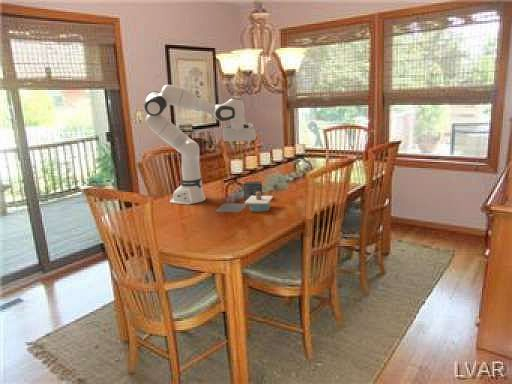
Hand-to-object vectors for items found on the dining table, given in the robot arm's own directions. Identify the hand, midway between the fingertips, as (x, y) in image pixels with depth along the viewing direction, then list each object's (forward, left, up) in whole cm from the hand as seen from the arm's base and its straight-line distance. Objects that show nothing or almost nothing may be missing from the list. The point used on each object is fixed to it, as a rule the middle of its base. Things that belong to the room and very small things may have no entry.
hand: (240, 148), depth 243 cm
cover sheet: (+17, -24, -26) cm, 39 cm away
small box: (+8, -5, -31) cm, 33 cm away
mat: (0, -24, -31) cm, 39 cm away
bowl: (+17, -24, -31) cm, 43 cm away
